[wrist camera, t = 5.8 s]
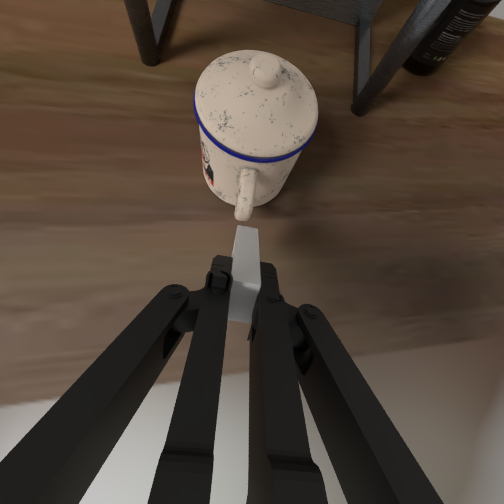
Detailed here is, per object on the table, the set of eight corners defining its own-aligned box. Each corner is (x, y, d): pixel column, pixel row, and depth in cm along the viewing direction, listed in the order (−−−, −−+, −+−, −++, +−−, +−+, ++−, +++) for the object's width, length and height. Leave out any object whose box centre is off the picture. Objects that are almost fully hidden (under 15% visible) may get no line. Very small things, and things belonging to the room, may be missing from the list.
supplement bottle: (445, 59, 34) (561, -68, 23) (424, 85, 33) (539, -38, 21) (407, 30, 35) (502, -110, 23) (384, 54, 33) (475, -85, 21)
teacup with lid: (207, 127, 26) (200, -9, 15) (288, 141, 27) (338, 24, 16) (190, 231, 23) (166, 158, 12) (282, 243, 24) (338, 186, 13)
